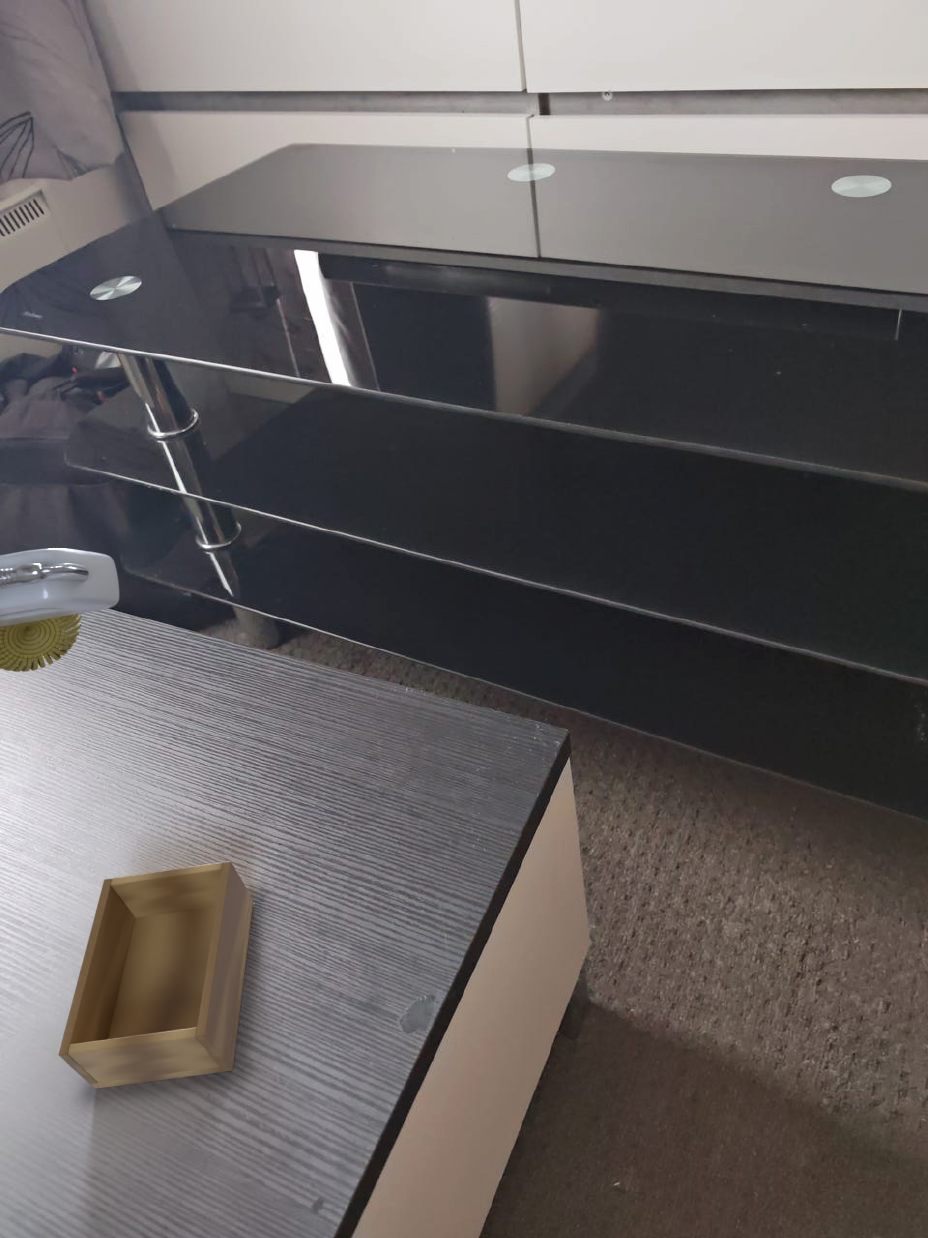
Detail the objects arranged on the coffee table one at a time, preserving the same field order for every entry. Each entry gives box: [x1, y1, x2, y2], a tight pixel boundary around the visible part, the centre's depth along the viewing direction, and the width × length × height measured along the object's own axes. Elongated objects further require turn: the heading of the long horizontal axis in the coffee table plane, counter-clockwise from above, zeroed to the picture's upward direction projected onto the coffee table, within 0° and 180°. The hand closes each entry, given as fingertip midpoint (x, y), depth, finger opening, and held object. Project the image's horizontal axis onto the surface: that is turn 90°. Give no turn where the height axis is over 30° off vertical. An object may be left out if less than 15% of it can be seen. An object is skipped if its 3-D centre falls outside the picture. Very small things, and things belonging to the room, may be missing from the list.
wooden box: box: [58, 860, 254, 1090], centre depth 62 cm, size 9×12×5 cm
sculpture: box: [0, 613, 83, 673], centre depth 69 cm, size 8×4×8 cm, turn 126°
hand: (21, 608), depth 69 cm, fingers closed on sculpture, 7 cm apart
